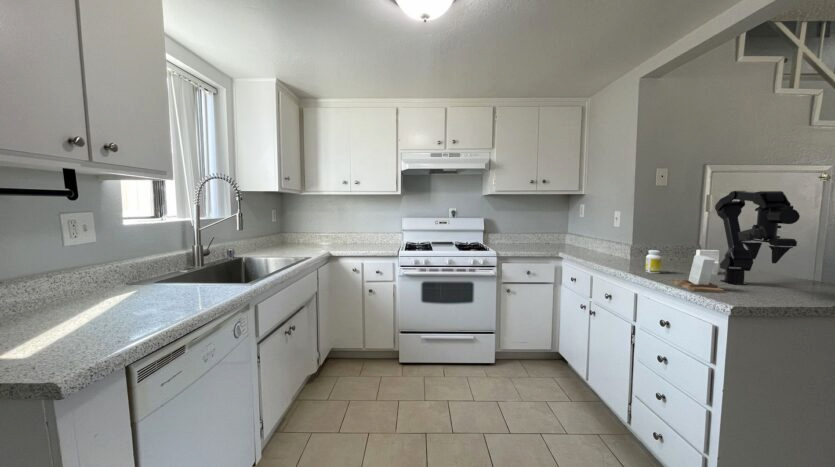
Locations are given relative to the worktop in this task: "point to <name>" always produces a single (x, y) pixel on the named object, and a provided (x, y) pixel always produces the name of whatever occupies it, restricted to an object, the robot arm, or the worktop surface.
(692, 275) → the skincare box
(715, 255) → the cylinder with rectangular tab
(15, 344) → the worktop surface
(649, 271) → the pill bottle
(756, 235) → the robot arm
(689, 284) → the wooden slatted trivet
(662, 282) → the worktop surface
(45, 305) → the worktop surface
